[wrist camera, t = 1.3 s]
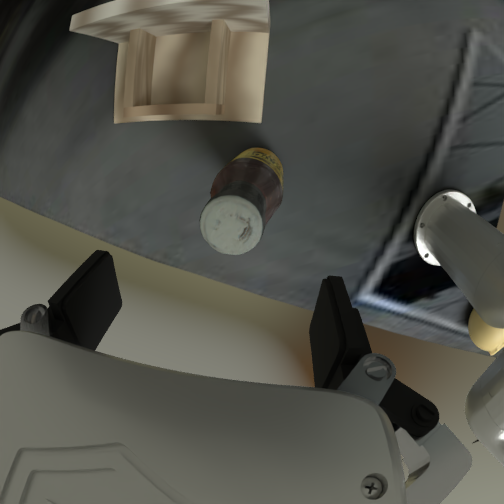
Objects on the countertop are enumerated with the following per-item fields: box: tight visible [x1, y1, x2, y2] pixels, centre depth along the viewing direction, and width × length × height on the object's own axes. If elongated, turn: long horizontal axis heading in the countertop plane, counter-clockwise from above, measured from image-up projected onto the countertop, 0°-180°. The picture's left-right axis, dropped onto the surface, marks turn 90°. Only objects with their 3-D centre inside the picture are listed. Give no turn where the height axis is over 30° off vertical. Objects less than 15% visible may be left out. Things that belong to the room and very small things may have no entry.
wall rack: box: [69, 0, 270, 123], centre depth 23 cm, size 20×14×12 cm
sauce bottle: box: [200, 148, 283, 255], centre depth 26 cm, size 7×6×20 cm
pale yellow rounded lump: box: [468, 309, 504, 355], centre depth 37 cm, size 12×12×11 cm
